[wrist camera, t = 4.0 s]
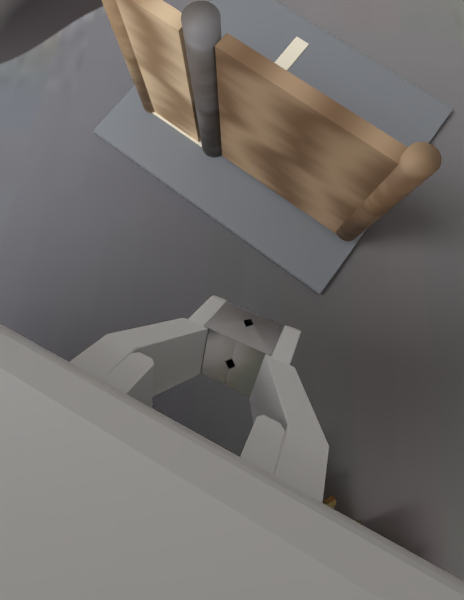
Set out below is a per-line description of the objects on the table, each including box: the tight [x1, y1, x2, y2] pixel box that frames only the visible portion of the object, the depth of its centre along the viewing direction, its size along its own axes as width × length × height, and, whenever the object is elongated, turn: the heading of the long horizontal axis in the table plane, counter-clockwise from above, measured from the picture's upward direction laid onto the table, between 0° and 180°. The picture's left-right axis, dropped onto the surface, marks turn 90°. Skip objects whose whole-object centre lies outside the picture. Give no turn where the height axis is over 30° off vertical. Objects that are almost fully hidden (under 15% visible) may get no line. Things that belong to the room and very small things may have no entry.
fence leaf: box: [215, 33, 441, 241], centre depth 21 cm, size 15×2×10 cm, turn 53°
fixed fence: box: [102, 0, 222, 157], centre depth 22 cm, size 10×2×11 cm, turn 53°
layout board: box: [93, 0, 453, 295], centre depth 28 cm, size 24×28×1 cm
